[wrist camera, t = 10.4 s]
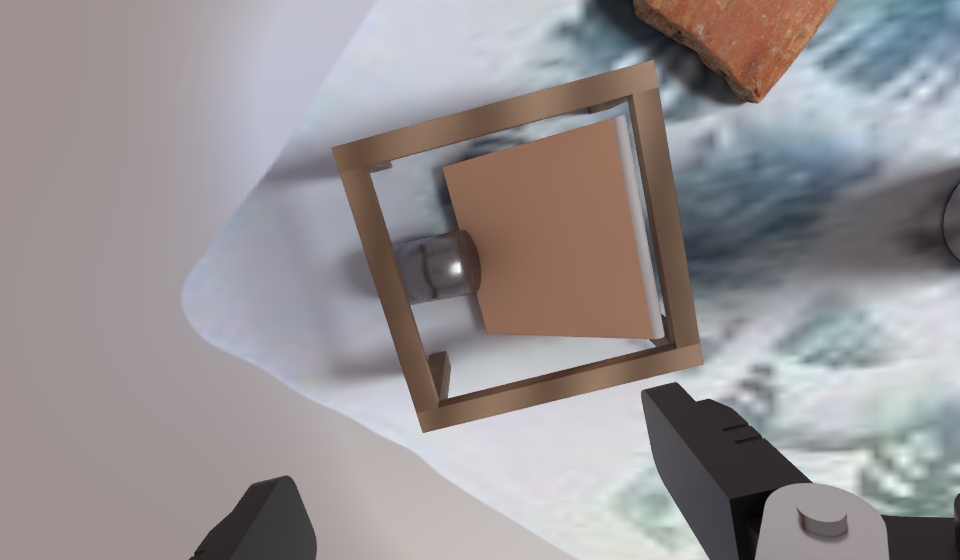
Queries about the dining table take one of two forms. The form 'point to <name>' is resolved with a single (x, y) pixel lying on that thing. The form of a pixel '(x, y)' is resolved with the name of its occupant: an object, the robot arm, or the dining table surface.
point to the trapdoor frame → (593, 92)
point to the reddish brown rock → (740, 35)
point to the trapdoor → (560, 236)
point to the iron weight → (439, 267)
